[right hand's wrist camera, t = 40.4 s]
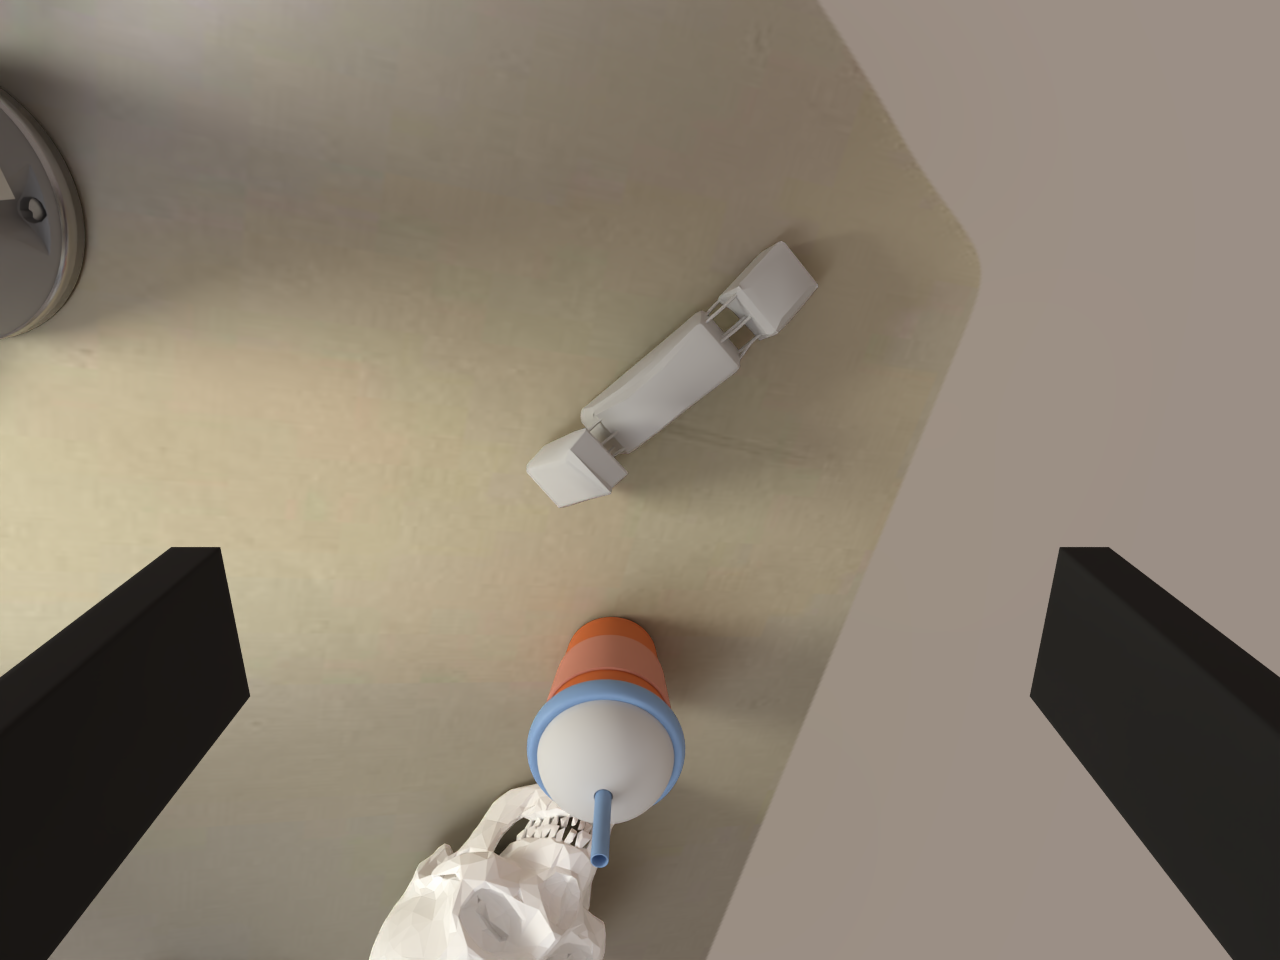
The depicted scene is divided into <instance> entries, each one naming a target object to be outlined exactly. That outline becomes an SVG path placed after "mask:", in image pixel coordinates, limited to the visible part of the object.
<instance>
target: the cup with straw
mask: <svg viewBox="0 0 1280 960" xmlns="http://www.w3.org/2000/svg"><path fill="white" fill-rule="evenodd" d="M527 757H528V762H529V766H530V770H531V772H532V774H533V777H534V779H535V780H536V782H537V784H538V785H539V787H540V788H541V789H542V790H543V792H544V793H545V794H546V795H547V796H548V797H549V798H550V799H552V800H553V801H554V802H555V803H556V804H557V805H558V806H559V807H560V808H561V809H563V810H564V811H565V812H567V813H568V814H570V815H571V816H573V817H575V818H577V819H579V820H582V821H585V822H589V823H593V831H592V845H591V858H590V861H591V864H592V865H593V866H595V867H597V868H602V867H605V866H606V865H607V864H608V862H609V844H610V824H617V823H622V822H625V821H628V820H631V819H633V818H635V817H637V816H639V815H641V814H642V813H644V812H645V811H647V810H648V809H649V808H650V807H652V806H653V805H655V804H656V803H658V802H659V801H660V800H661V799H663V798H664V797H665V796H666V795H667V794H668V793H669V791H670V790H671V789H672V788H673V786H674V785H675V783H676V781H677V780H678V778H679V776H680V773H681V771H682V767H683V764H684V758H685V740H684V735H683V731H682V728H681V725H680V723H679V721H678V719H677V717H676V716H675V714H674V712H673V711H672V710H671V706H670V702H669V697H668V692H667V687H666V682H665V678H664V673H663V670H662V667H661V664H660V662H659V661H658V658H657V653H656V649H655V646H654V643H653V641H652V639H651V637H650V636H649V634H648V633H647V632H646V631H645V630H644V629H643V628H642V627H641V626H639V625H638V624H636V623H634V622H632V621H630V620H627V619H624V618H619V617H604V618H599V619H596V620H593V621H591V622H589V623H587V624H585V625H584V626H582V627H581V628H580V629H579V630H578V631H577V632H576V633H575V635H574V636H573V637H572V639H571V641H570V644H569V646H568V649H567V652H566V655H565V656H564V657H563V659H562V661H561V662H560V665H559V667H558V670H557V673H556V676H555V679H554V681H553V684H552V687H551V690H550V693H549V696H548V699H547V702H546V703H545V705H544V706H543V707H542V708H541V709H540V711H539V712H538V714H537V715H536V717H535V719H534V721H533V723H532V725H531V728H530V731H529V735H528V741H527Z"/></svg>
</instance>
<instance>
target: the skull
mask: <svg viewBox="0 0 1280 960" xmlns="http://www.w3.org/2000/svg"><path fill="white" fill-rule="evenodd" d="M559 817H564V818H562V819H561V818H560V819H561V828H563V827H567V824H568V821H569V817H573V816H571V815H570V814H568V813H567V812H565V811H564V810H563V809H561V808H560V807H559V806H558V805H557V804H556V803H555V802H554V801H553V800H552V799H550V798H549V797H548V796H547V795H546V794H545V793H544V792H543V790H542V789H541V788H540V787H539V785H538V784H533V785H528V786H523V787H519V788H515V789H511V790H509V791H508V792H506V793H505V794H503V795H502V796H500V797H499V798H498V799H497V800H496V801H495V802H493V804H492V805H491V807H490V808H489V810H488V811H487V813H486V814H485V816H484V817H483V819H482V820H481V822H480V823H479V825H478V826H477V828H476V829H475V830H474V831H473V833H472V834H471V836H470V838H469V839H468V840H467V841H466V842H465V843H464V844H463V846H462V847H461V848H460V849H459V850H458V851H457V852H455V853H453V850H452V848H451V846H450V845H448V844H446V843H444V844H443V845H441V846H440V847H438V849H437V850H436V851H435V852H434V853H433V854H432V855H431V856H430V857H428V858H427V859H425V860H424V861H422V862H421V863H419V865H418V867H417V869H416V871H415V874H414V877H413V879H412V881H411V882H410V884H409V886H408V887H407V889H406V891H405V892H404V894H403V895H402V897H401V898H400V899H399V901H398V902H397V903H396V905H395V906H394V907H393V909H392V910H391V912H390V914H389V915H388V917H387V918H386V920H385V921H384V923H383V925H382V927H381V929H380V931H379V934H378V936H377V938H376V941H375V943H374V945H373V947H372V951H371V954H370V957H369V960H603V957H604V954H605V940H606V933H605V924H604V922H603V921H602V920H600V919H599V918H597V917H596V916H594V915H593V914H591V913H590V912H589V911H588V910H589V906H590V895H591V885H592V881H593V878H594V875H595V873H596V870H597V867H595V866H593V865H592V864H591V861H590V858H591V845H592V831H593V823H590V824H589V822H588V823H587V822H585V821H582V820H581V821H580V824H579V828H578V830H581V831H580V832H579V833H578V834H577V831H576V830H574V829H573V828H571V830H570V832H569V834H568V835H567V837H566V839H565V841H563V840H562V837H563V834H564V830H565V828H563V829H561V830H559V831H558V828H559V826H558V825H557V824H558V821H559ZM522 818H526V819H528V820H530V821H529V823H528V824H527V826H526V827H525V829H524V830H522V831H521V832H520V833H519V834H518V835H517V838H516V841H515V842H512V843H510V844H509V845H508V846H507V847H506V849H505V850H504V851H503V852H502V853H501V854H500V855H497V854H496V853H494V850H495V848H496V846H497V844H498V842H499V841H500V839H501V838H502V837H503V835H504V834H505V833H506V832H507V831H508V830H509V829H510V828H511V827H512V826H513V825H514V824H515V823H516V822H517V821H518V820H520V819H522ZM542 820H543V822H542ZM550 820H553V821H552V822H551V824H550ZM534 821H535V823H534ZM577 822H578V819H577V818H575V817H573V820H572V824H571V825H572V826H574V825H576V823H577ZM585 823H586V824H585ZM533 824H534V825H533ZM613 826H614V824H610V834H611V829H612V827H613ZM584 827H585V828H584ZM583 829H584V831H583ZM590 830H591V834H589V832H590ZM557 831H558V833H557ZM549 832H550V833H549ZM548 833H549V836H548V837H546V836H547V835H548ZM556 833H557V834H556ZM576 834H577V839H576V843H575V847H574V846H572V845H571V844H570V843H571V842H572V841H573V839H574V837H575V835H576ZM555 836H556V838H555ZM590 839H591V840H590ZM589 840H590V842H589V843H588V844H587V845H586V846H585V844H586V843H587V842H588V841H589ZM584 846H585V847H584ZM583 847H584V848H583Z"/></svg>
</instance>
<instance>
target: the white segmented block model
mask: <svg viewBox="0 0 1280 960" xmlns="http://www.w3.org/2000/svg"><path fill="white" fill-rule="evenodd" d="M817 288H818V284H817V282H816V281H815V280H814V279H813V277H812V276H811V275H810V274H809V272H808V271H807V270H806V269H805V267H804V266H803V265H802V264H801V262H800V261H799V260H798V259H797V257H796V256H795V255H794V253H793V252H792V251H791V250H790V248H789V247H788V246H787V245H786V243H784V242H783V241H779V242H777V243H776V244H774V245H772V246H771V247H769V248H767V249H765V250H764V251H762V252H761V253H760V254H758V255H757V257H756V258H755V259H754V260H753V261H752V262H751V263H750V264H749V265H748V266H747V267H746V268H745V269H744V270H743V272H742V273H741V274H740V275H739V276H738V277H737V278H736V279H735V280H734V281H733V282H732V283H731V284H730V285H729V287H728V288H727V289H726V290H725V291H724V292H723V293H722V294H721V295H720V296H719V298H718V300H717V301H716V302H715V303H714V304H713V305H712V306H711V308H710V309H709V310H708V311H707V312H705V311H702V310H701V311H699V312H697V313H695V314H694V315H693V316H692V317H690V318H689V319H688V320H687V321H686V322H685V323H683V324H682V325H681V326H680V327H679V328H678V329H676V330H675V331H674V332H673V333H672V334H670V335H669V336H668V337H667V338H666V339H665V340H663V341H662V342H661V343H660V344H659V345H658V346H656V347H655V348H654V349H653V350H652V351H650V352H649V353H648V354H647V355H646V356H644V357H643V358H642V359H641V360H640V361H639V362H637V363H636V364H635V365H634V366H633V367H631V368H630V369H629V370H628V371H627V372H625V373H624V374H623V375H622V376H621V377H619V378H618V379H617V380H616V381H615V382H614V383H612V384H611V385H610V386H609V387H608V388H606V389H605V390H604V391H603V392H602V393H600V394H599V395H598V396H597V397H596V398H595V399H593V400H592V401H591V402H590V403H589V404H587V405H586V406H585V407H584V408H583V409H582V411H581V422H582V423H583V425H584V426H585V427H586V428H587V429H586V428H583V429H580V430H577V431H573V432H571V433H569V434H567V435H565V436H563V437H561V438H559V439H557V440H554V441H552V442H550V443H548V444H546V445H544V446H543V447H542V448H541V449H540V450H539V452H538V453H537V454H536V455H535V456H534V457H533V458H532V459H531V460H530V462H529V463H528V464H527V473H528V474H529V475H530V476H531V478H532V479H533V480H534V481H535V482H536V483H537V484H538V485H539V486H540V487H541V489H542V490H543V491H544V492H545V493H546V494H547V495H548V496H549V497H550V499H551V500H552V501H553V502H554V503H555V504H556V505H557V506H558V507H559V508H561V507H567V506H570V505H574V504H577V503H580V502H583V501H586V500H590V499H593V498H597V497H601V496H605V495H609V494H611V491H612V488H613V487H614V486H615V485H616V484H618V483H619V482H620V481H621V480H622V479H623V478H624V477H625V476H626V475H628V472H627V471H626V470H625V468H624V467H623V466H622V465H621V464H620V463H619V462H618V461H617V460H616V459H615V458H614V457H615V456H617V455H618V454H624V453H627V454H629V453H631V452H633V451H634V450H636V449H637V448H638V447H640V446H641V445H642V444H644V443H645V442H646V441H648V440H649V439H650V438H652V437H653V436H654V435H656V434H657V433H658V432H660V431H661V430H662V429H663V428H665V427H666V426H667V425H669V424H670V423H671V422H672V421H674V420H675V419H676V418H677V417H679V416H680V415H681V414H682V413H684V412H685V411H686V410H687V409H689V408H690V407H691V406H692V405H694V404H695V403H696V402H698V401H699V400H700V399H702V398H703V397H704V396H705V395H707V394H708V393H709V392H711V391H712V390H713V389H715V388H716V387H717V386H719V385H720V384H721V383H722V382H724V381H725V380H726V379H728V378H729V377H730V376H732V375H733V374H734V373H736V372H737V370H738V369H739V368H740V360H741V358H742V357H743V356H744V354H745V353H746V351H747V350H748V348H749V347H750V346H751V344H752V343H753V342H754V341H755V340H757V339H759V340H762V339H765V338H768V337H771V336H774V335H776V334H777V333H778V332H779V331H781V330H782V329H783V328H784V327H785V326H786V325H787V324H788V323H789V321H790V320H791V319H792V318H793V317H794V316H795V315H796V314H797V312H798V311H799V310H800V309H801V308H802V307H803V305H804V304H805V303H806V301H807V300H808V299H809V298H810V296H811V295H812V294H813V293H814V291H815V290H816V289H817ZM719 303H721V304H722V305H723V306H722V307H720V308H719V309H718V310H717V311H716V312H715V313H714V314H712V315H711V316H709V314H710V312H711V311H712V310H713V309H714V308H715V307H716V306H717V305H718V304H719ZM725 307H727V308H729V309H730V310H732V311H733V312H734V313H735V314H736V315H737V316H738V317H739V318H740V320H739V321H738V322H737V323H735V324H734V325H733V326H732V327H731V328H730V329H728V330H727V331H726V332H725V333H724V332H723V331H722V330H721V328H720V327H719V326H718V325H717V324H716V323H715V321H714V320H713V318H714V317H715V316H716V315H718V314H719V313H720V312H721V311H722V310H723V309H724V308H725ZM741 322H742V323H741ZM740 323H741V324H740ZM744 324H745V325H746V326H747V327H748V328H749V329H750V330H751V331H752V332H753V334H754V335H755V337H754V338H752V339H751V340H750V341H749V342H748V343H747V344H745V345H744V346H743V347H742V348H740V349H739V350H738V348H737V347H736V346H735V345H734V344H733V343H732V341H731V340H730V339H729V337H730V336H731V335H733V334H734V333H735V332H737V331H738V330H739V329H740V328H741V327H742V326H743V325H744ZM732 330H733V331H732ZM742 351H743V352H742ZM741 352H742V353H741ZM739 353H741V354H740V355H739ZM611 454H612V455H611Z"/></svg>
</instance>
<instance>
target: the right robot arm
mask: <svg viewBox="0 0 1280 960" xmlns="http://www.w3.org/2000/svg"><path fill="white" fill-rule="evenodd" d="M84 249H85V228H84V219H83V212H82V207H81V203H80V199H79V195H78V192H77V189H76V186H75V183H74V181H73V178H72V176H71V174H70V171H69V169H68V167H67V165H66V163H65V161H64V159H63V158H62V156H61V154H60V152H59V151H58V149H57V147H56V146H55V144H54V143H53V141H52V140H51V138H50V137H49V136H48V134H47V133H46V132H45V130H44V129H43V128H42V126H41V125H40V124H39V123H38V122H37V121H36V120H35V118H34V117H33V116H32V115H31V114H30V113H29V112H28V111H27V110H26V109H25V108H24V107H23V106H22V105H21V104H20V103H19V102H17V101H16V100H15V99H14V98H13V97H12V96H10V95H9V94H8V93H7V92H5V91H4V90H3V89H1V88H0V339H4V338H8V337H13V336H17V335H20V334H22V333H25V332H28V331H30V330H32V329H34V328H36V327H38V326H40V325H41V324H43V323H44V322H46V321H47V320H48V319H50V318H51V317H52V316H53V315H54V314H55V313H56V312H57V311H58V310H59V309H60V308H61V307H62V306H63V305H64V303H65V302H66V300H67V299H68V297H69V296H70V294H71V292H72V291H73V289H74V287H75V285H76V282H77V280H78V277H79V274H80V271H81V267H82V263H83V257H84ZM249 697H250V693H249V688H248V683H247V678H246V673H245V668H244V663H243V658H242V653H241V648H240V643H239V638H238V633H237V628H236V623H235V618H234V613H233V608H232V603H231V598H230V593H229V588H228V584H227V579H226V574H225V569H224V564H223V559H222V554H221V549H220V547H171V548H170V549H168V550H167V551H166V552H164V553H163V554H162V555H160V556H159V557H158V558H156V559H155V560H154V561H152V562H151V563H150V564H149V565H147V566H146V567H145V568H143V569H142V570H141V571H139V572H138V573H137V574H135V575H134V576H133V577H131V578H130V579H129V580H128V581H126V582H125V583H124V584H122V585H121V586H120V587H118V588H117V589H116V590H114V591H113V592H112V593H110V594H109V595H108V596H106V597H105V598H104V599H103V600H101V601H100V602H99V603H97V604H96V605H95V606H93V607H92V608H91V609H89V610H88V611H87V612H85V613H84V614H83V615H82V616H80V617H79V618H78V619H76V620H75V621H74V622H72V623H71V624H70V625H68V626H67V627H66V628H64V629H63V630H62V631H61V632H59V633H58V634H57V635H55V636H54V637H53V638H51V639H50V640H49V641H47V642H46V643H45V644H43V645H42V646H41V647H39V648H38V649H37V650H36V651H34V652H33V653H32V654H30V655H29V656H28V657H26V658H25V659H24V660H22V661H21V662H20V663H18V664H17V665H16V666H15V667H13V668H12V669H11V670H9V671H8V672H7V673H5V674H4V675H3V676H1V677H0V960H47V959H48V958H49V957H50V955H51V954H52V953H53V951H54V950H55V949H56V947H57V946H58V945H59V944H60V942H61V941H62V940H63V938H64V937H65V936H66V935H67V933H68V932H69V931H70V929H71V928H72V927H73V925H74V924H75V923H76V922H77V920H78V919H79V918H80V916H81V915H82V914H83V912H84V911H85V910H86V909H87V907H88V906H89V905H90V903H91V902H92V901H93V899H94V898H95V897H96V896H97V894H98V893H99V892H100V890H101V889H102V888H103V886H104V885H105V884H106V883H107V881H108V880H109V879H110V877H111V876H112V875H113V874H114V872H115V871H116V870H117V868H118V867H119V866H120V864H121V863H122V862H123V861H124V859H125V858H126V857H127V855H128V854H129V853H130V851H131V850H132V849H133V848H134V846H135V845H136V844H137V842H138V841H139V840H140V838H141V837H142V836H143V835H144V833H145V832H146V831H147V829H148V828H149V827H150V826H151V824H152V823H153V822H154V820H155V819H156V818H157V816H158V815H159V814H160V813H161V811H162V810H163V809H164V807H165V806H166V805H167V803H168V802H169V801H170V800H171V798H172V797H173V796H174V794H175V793H176V792H177V790H178V789H179V788H180V787H181V785H182V784H183V783H184V781H185V780H186V779H187V777H188V776H189V775H190V774H191V772H192V771H193V770H194V768H195V767H196V766H197V765H198V763H199V762H200V761H201V759H202V758H203V757H204V755H205V754H206V753H207V752H208V750H209V749H210V748H211V746H212V745H213V744H214V742H215V741H216V740H217V739H218V737H219V736H220V735H221V733H222V732H223V731H224V729H225V728H226V727H227V726H228V724H229V723H230V722H231V720H232V719H233V718H234V717H235V715H236V714H237V713H238V711H239V710H240V709H241V707H242V706H243V705H244V704H245V702H246V701H247V700H248V698H249ZM1030 697H1031V698H1032V700H1033V701H1034V702H1035V703H1036V705H1037V706H1038V707H1039V709H1040V710H1041V711H1042V713H1043V714H1044V715H1045V716H1046V718H1047V719H1048V720H1049V722H1050V723H1051V724H1052V726H1053V727H1054V728H1055V729H1056V731H1057V732H1058V733H1059V735H1060V736H1061V737H1062V739H1063V740H1064V741H1065V742H1066V744H1067V745H1068V746H1069V748H1070V749H1071V750H1072V752H1073V753H1074V754H1075V755H1076V757H1077V758H1078V759H1079V761H1080V762H1081V763H1082V765H1083V766H1084V767H1085V768H1086V770H1087V771H1088V772H1089V774H1090V775H1091V776H1092V777H1093V779H1094V780H1095V781H1096V783H1097V784H1098V785H1099V787H1100V788H1101V789H1102V790H1103V792H1104V793H1105V794H1106V796H1107V797H1108V798H1109V800H1110V801H1111V802H1112V803H1113V805H1114V806H1115V807H1116V809H1117V810H1118V811H1119V813H1120V814H1121V815H1122V816H1123V818H1124V819H1125V820H1126V822H1127V823H1128V824H1129V826H1130V827H1131V828H1132V829H1133V831H1134V832H1135V833H1136V835H1137V836H1138V837H1139V838H1140V840H1141V841H1142V842H1143V844H1144V845H1145V846H1146V847H1147V849H1148V850H1149V851H1150V853H1151V854H1152V855H1153V857H1154V858H1155V859H1156V861H1157V862H1158V863H1159V864H1160V866H1161V867H1162V868H1163V870H1164V871H1165V872H1166V873H1167V875H1168V876H1169V877H1170V879H1171V880H1172V881H1173V883H1174V884H1175V885H1176V886H1177V888H1178V889H1179V890H1180V892H1181V893H1182V894H1183V896H1184V897H1185V898H1186V899H1187V901H1188V902H1189V903H1190V905H1191V906H1192V907H1193V908H1194V910H1195V911H1196V912H1197V914H1198V915H1199V916H1200V918H1201V919H1202V920H1203V922H1204V923H1205V924H1206V925H1207V927H1208V928H1209V929H1210V931H1211V932H1212V933H1213V935H1214V936H1215V937H1216V938H1217V940H1218V941H1219V942H1220V944H1221V945H1222V946H1223V947H1224V949H1225V950H1226V951H1227V953H1228V954H1229V955H1230V957H1231V958H1232V959H1233V960H1280V677H1279V676H1277V675H1276V674H1275V673H1273V672H1272V671H1271V670H1269V669H1268V668H1267V667H1265V666H1264V665H1263V664H1262V663H1260V662H1259V661H1258V660H1256V659H1255V658H1254V657H1252V656H1251V655H1250V654H1248V653H1247V652H1246V651H1244V650H1243V649H1242V648H1240V647H1239V646H1238V645H1237V644H1235V643H1234V642H1233V641H1231V640H1230V639H1229V638H1227V637H1226V636H1225V635H1223V634H1222V633H1221V632H1219V631H1218V630H1217V629H1216V628H1214V627H1213V626H1212V625H1210V624H1209V623H1208V622H1206V621H1205V620H1204V619H1202V618H1201V617H1200V616H1198V615H1197V614H1196V613H1195V612H1193V611H1192V610H1191V609H1189V608H1188V607H1187V606H1185V605H1184V604H1183V603H1181V602H1180V601H1179V600H1177V599H1176V598H1175V597H1174V596H1172V595H1171V594H1170V593H1168V592H1167V591H1166V590H1164V589H1163V588H1162V587H1160V586H1159V585H1158V584H1156V583H1155V582H1154V581H1152V580H1151V579H1150V578H1149V577H1147V576H1146V575H1145V574H1143V573H1142V572H1141V571H1139V570H1138V569H1137V568H1135V567H1134V566H1133V565H1131V564H1130V563H1129V562H1128V561H1126V560H1125V559H1124V558H1122V557H1121V556H1120V555H1118V554H1117V553H1116V552H1114V551H1113V550H1112V549H1110V548H1109V547H1060V549H1059V554H1058V559H1057V564H1056V569H1055V574H1054V579H1053V584H1052V588H1051V593H1050V598H1049V603H1048V608H1047V613H1046V618H1045V624H1044V628H1043V633H1042V638H1041V643H1040V648H1039V653H1038V658H1037V663H1036V668H1035V673H1034V678H1033V683H1032V688H1031V693H1030Z"/></svg>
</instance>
